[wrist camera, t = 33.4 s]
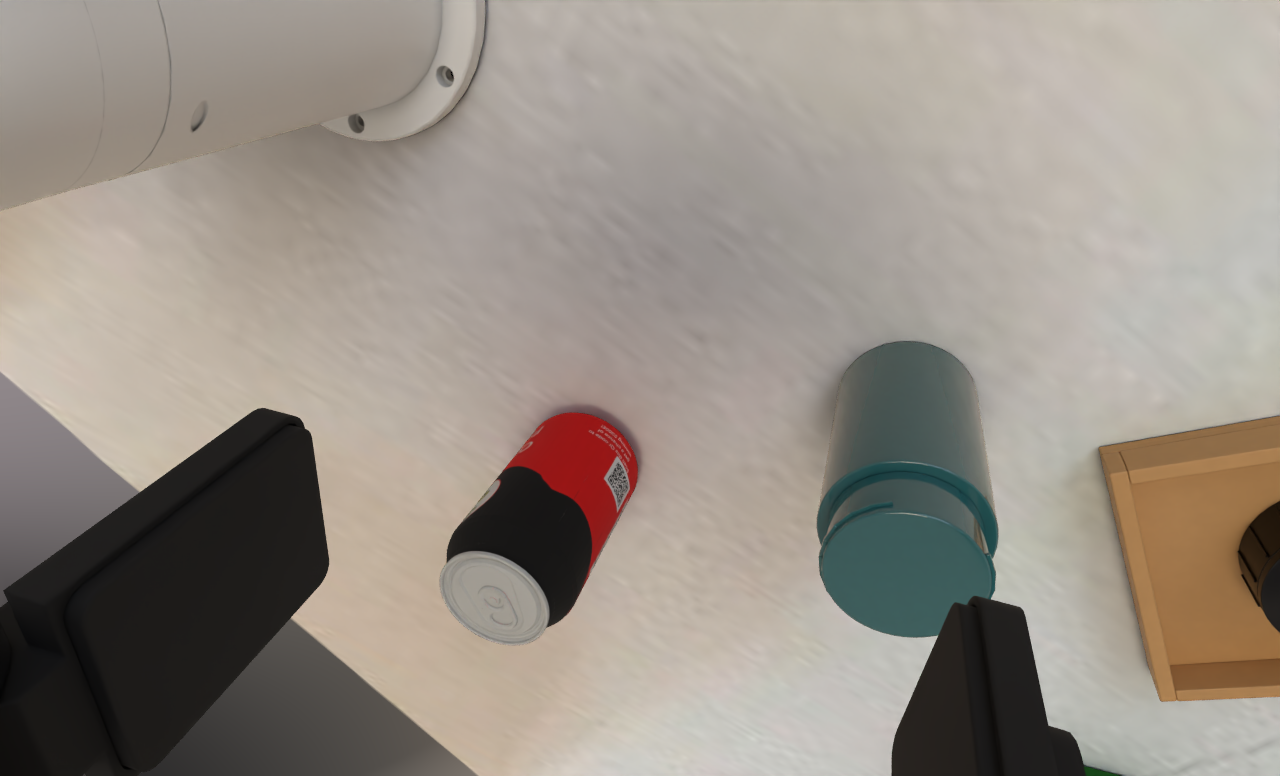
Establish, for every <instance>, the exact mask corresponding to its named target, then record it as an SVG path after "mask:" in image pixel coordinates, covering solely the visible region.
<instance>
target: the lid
mask: <svg viewBox="0 0 1280 776" xmlns="http://www.w3.org/2000/svg"><path fill="white" fill-rule="evenodd" d="M1237 553H1238V558H1239V565H1240V569H1241V571H1242V573H1243V574H1242V575H1241V576H1242V578H1243V580H1244V582H1245V583H1246V585H1247V587H1248V589H1249V591H1250V593H1251V595H1252V596H1253V598H1254V600H1255V602H1256V604H1257V606H1258V607H1261V608H1262V610H1263V612H1264V614H1265V616H1266V618H1267V619H1268V620H1269V622H1270V623H1271V625H1272V626H1273V627H1274V628H1275V629H1276V630H1277V631H1278V632H1279V633H1280V501H1279V502H1277V503H1275V504H1274V505H1272V506H1270V507H1269V508H1267V509H1266V510H1265V511H1264V512H1262V513H1261V514H1260V515H1259V516H1258V517H1257V518H1256V519H1255V520H1254V521H1253V522H1252V523H1251V524H1250V525H1249V527H1248V528H1247V529H1246V531H1245V533H1244V535H1243V537H1242V539H1241V542H1240V545H1239V551H1237Z"/></svg>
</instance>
